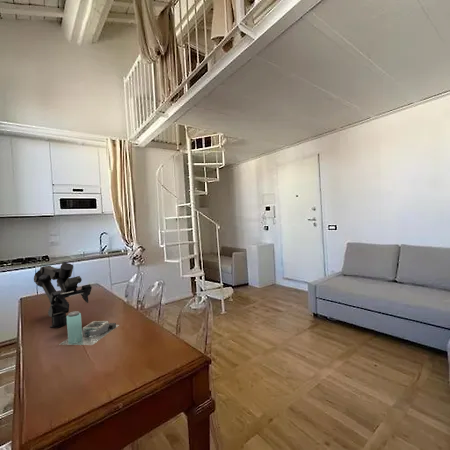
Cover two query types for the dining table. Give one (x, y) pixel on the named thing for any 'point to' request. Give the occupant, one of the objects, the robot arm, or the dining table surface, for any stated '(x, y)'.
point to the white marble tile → (93, 332)
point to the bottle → (74, 327)
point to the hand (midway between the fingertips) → (78, 304)
